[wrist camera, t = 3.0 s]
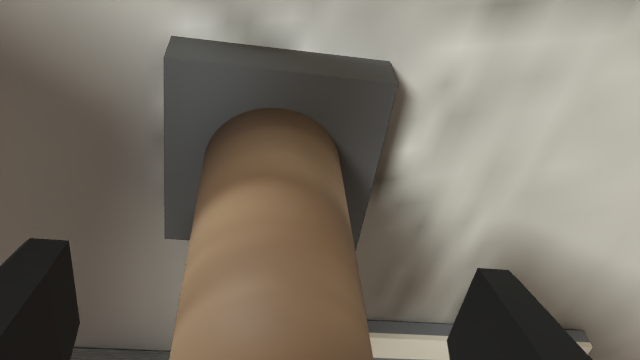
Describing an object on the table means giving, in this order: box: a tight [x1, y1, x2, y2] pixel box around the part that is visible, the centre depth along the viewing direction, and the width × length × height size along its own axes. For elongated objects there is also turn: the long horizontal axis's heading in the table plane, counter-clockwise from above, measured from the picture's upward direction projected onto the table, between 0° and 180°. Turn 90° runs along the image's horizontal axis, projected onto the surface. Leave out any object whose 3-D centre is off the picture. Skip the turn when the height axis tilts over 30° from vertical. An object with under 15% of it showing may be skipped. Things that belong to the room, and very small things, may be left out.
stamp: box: [164, 36, 398, 360], centre depth 12 cm, size 5×5×7 cm
